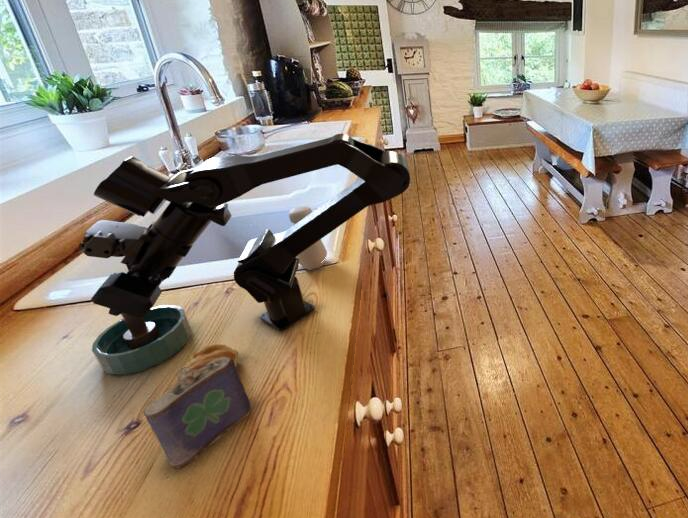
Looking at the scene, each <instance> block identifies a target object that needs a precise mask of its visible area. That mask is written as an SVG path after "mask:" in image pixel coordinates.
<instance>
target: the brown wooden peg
mask: <svg viewBox="0 0 688 518" xmlns="http://www.w3.org/2000/svg"><path fill="white" fill-rule="evenodd" d="M120 316H121V317H122V319H124V321H125V323H126V325H127V327H128V329H129V330H127V331H126V332H125V333H124V335H123V339H124V341H125V343H126V344H127V346H128V348H129V349H137V348H140V347H142V346H145V345H147V344H149V343H151V342H153V341H155V340H157V339H158V337H159V336H160V332H159V330H158V328H157V326H156V324H155V323H154V322H145V321H144V319H143V317H140V318H138V317H135V316H132V315H129V314H126V313H122V314H120Z"/></svg>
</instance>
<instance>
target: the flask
mask: <svg viewBox="0 0 688 518" xmlns="http://www.w3.org/2000/svg"><path fill="white" fill-rule="evenodd" d="M186 367H187V365H184V366H181V367H180V368H178V370H177V372H174V376H176V375H177V377H178V379H179V380H178V381H177V383H176V384H175V385H173V386H172V387H170V388H169V389H168V390H167V391H165V392H164V393H162V394H161V395H160V396H158V397H157V398H155V400H153V402H151V403H150V404H149V405H147V407H146V408H145V410H144V412H143V415H144V417H145V419H146V422H147V423H148V424H149V426H150V428H151V429H152V431H153V433H154V435H155V438H156V439H157V441H158V442H159V444H160V446H161V448H162V450H163V452H164V454H165V455H166V458H167V459H168V461H169V464H170V465H171V466H172V467H173V468H176V469H180V468H182V467H184V466H186V465H188V464H189V463H192V461H194V460H196V459H197V458H198V457H199V455H200V454H201V453H203V452H204V451H205V450H206V449H208V447H210V446H212V445H213V444H215V443H216V442H217V441H218V440H220V439H221V437H222V435H224V433H226V432H227V431H230V430H231V428H232V427H233V426H234V425H236V424H238V423H240V421H241V420H243V419H244V418H246V417H247V416H249V414H250V412H251V410H252V408H253V407H251V402H250V399H249V396H248V395H247V392H246V389H245V386H244V384H243V382H242V379H241V377H240V374H239V372H238V368H237V366H235V363H234V360H233V359H231V358H229V357H220V358H218V359H217V360H215V361H212V362H210V363H208V364H207V365H206V366H204V367H202V368H200V369H199V370H191V371H189V370H188V369H189V368H187V369H185V368H186ZM184 369H185V370H184ZM178 372H179V373H178Z"/></svg>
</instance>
